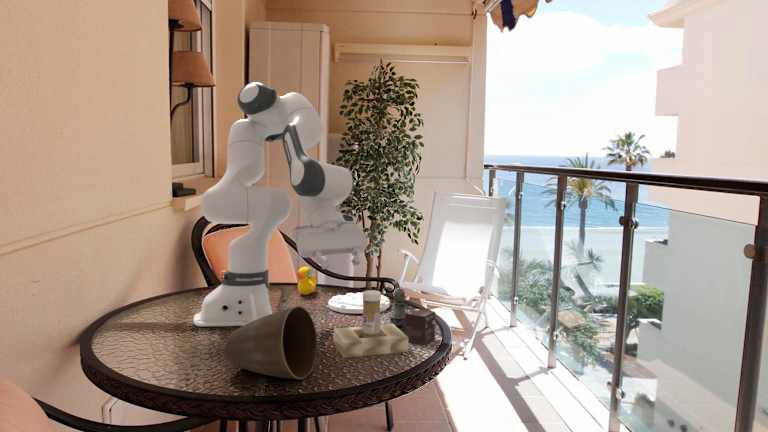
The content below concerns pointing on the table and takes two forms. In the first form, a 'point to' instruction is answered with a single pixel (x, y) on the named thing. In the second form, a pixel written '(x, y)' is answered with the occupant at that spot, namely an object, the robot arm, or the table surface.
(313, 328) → the plant pot
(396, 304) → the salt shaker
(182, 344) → the table surface
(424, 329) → the box
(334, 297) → the embossed medallion
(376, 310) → the sprinkles bottle
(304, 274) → the duckling
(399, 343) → the holder
